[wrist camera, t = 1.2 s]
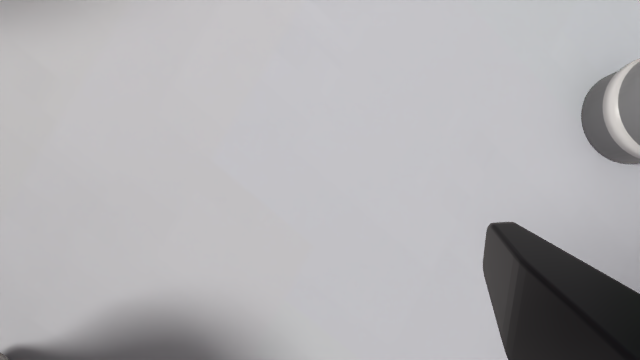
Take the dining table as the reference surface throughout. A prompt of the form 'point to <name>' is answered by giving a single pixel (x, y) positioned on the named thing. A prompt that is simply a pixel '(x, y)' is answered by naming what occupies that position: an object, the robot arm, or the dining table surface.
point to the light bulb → (3, 357)
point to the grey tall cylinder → (615, 115)
